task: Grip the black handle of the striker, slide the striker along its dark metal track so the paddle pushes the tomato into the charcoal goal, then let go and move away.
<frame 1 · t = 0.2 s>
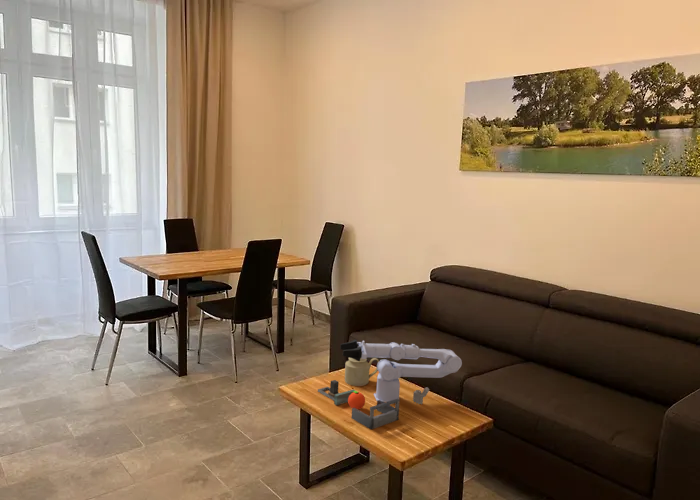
hand: (341, 349, 224), 21 cm above the table, tool horizontal, fingers open, 7 cm apart
beige teapot: (359, 381, 248), on the table
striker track: (332, 395, 230), on the table
goal: (373, 418, 210), on the table
tomato: (355, 408, 219), on the table
lighter: (420, 404, 226), on the table
striker: (338, 391, 226), point 3 cm above the table, slide at 0.0 cm
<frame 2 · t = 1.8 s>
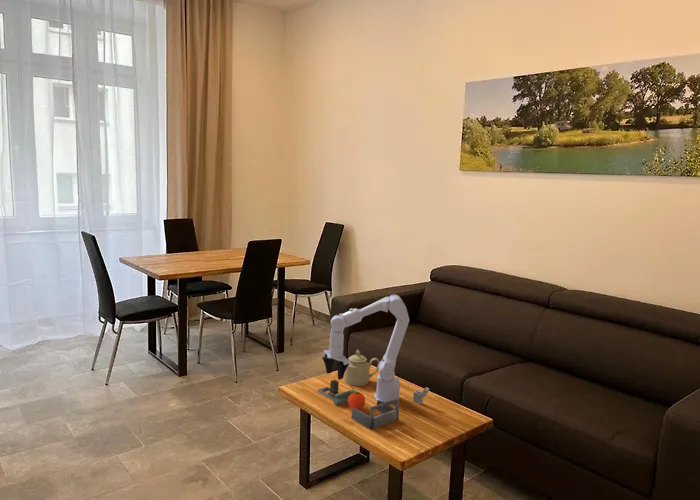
hand: (334, 375, 228), 9 cm above the table, tool pointing down, fingers open, 7 cm apart
nothing on the table moved.
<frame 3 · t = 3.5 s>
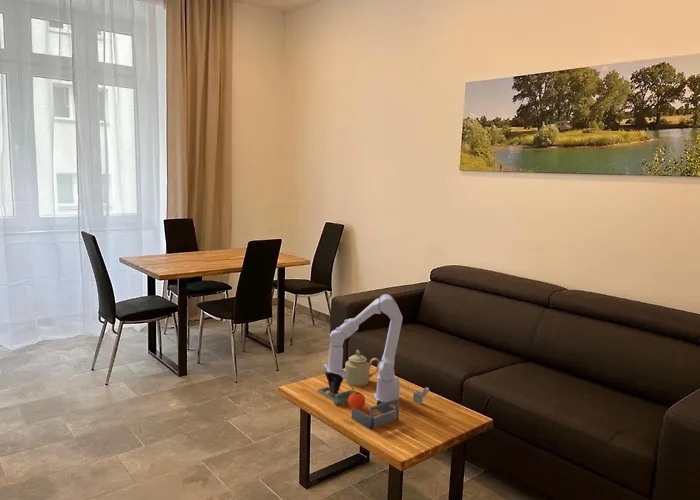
hand: (334, 389, 229), 3 cm above the table, tool pointing down, fingers closed on striker, 2 cm apart
striker: (338, 391, 226), point 3 cm above the table, slide at 0.0 cm, touching gripper
everything else where it was.
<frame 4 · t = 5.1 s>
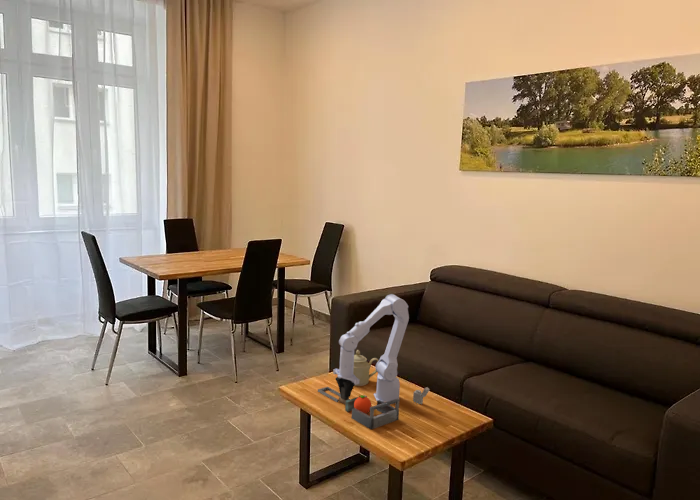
hand: (345, 395, 223), 3 cm above the table, tool pointing down, fingers open, 3 cm apart
tomato: (361, 413, 215), on the table, touching striker
striker: (349, 396, 221), point 3 cm above the table, slide at 7.1 cm, touching tomato, gripper
everything else where it was.
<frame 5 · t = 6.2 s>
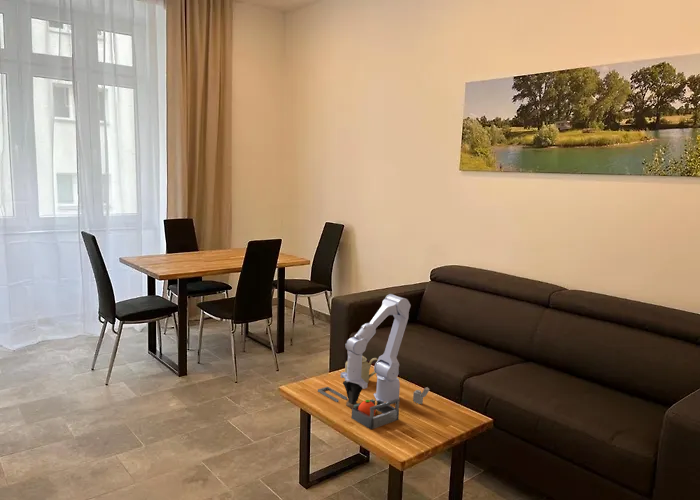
hand: (352, 399, 220), 3 cm above the table, tool pointing down, fingers open, 3 cm apart
tomato: (366, 418, 211), on the table, touching striker
striker: (357, 400, 217), point 3 cm above the table, slide at 11.9 cm, touching tomato, gripper
everything else where it was.
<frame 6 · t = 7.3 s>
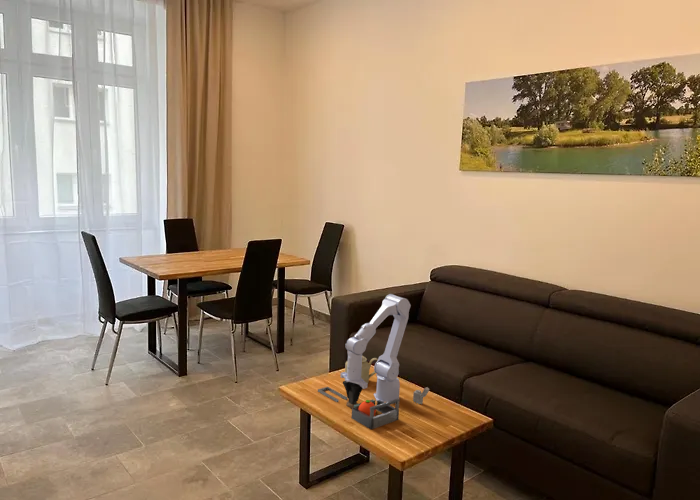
hand: (352, 399, 220), 3 cm above the table, tool pointing down, fingers open, 3 cm apart
tomato: (366, 418, 210), on the table
striker: (357, 401, 217), point 3 cm above the table, slide at 12.0 cm
everything else where it was.
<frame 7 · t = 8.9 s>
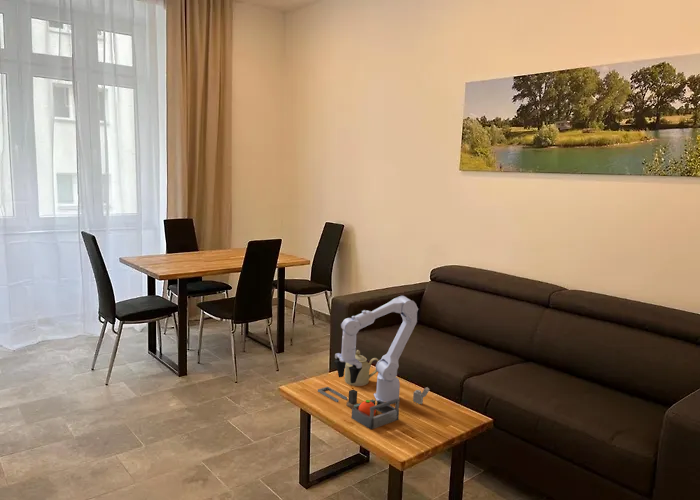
hand: (347, 379, 223), 9 cm above the table, tool pointing down, fingers open, 7 cm apart
nothing on the table moved.
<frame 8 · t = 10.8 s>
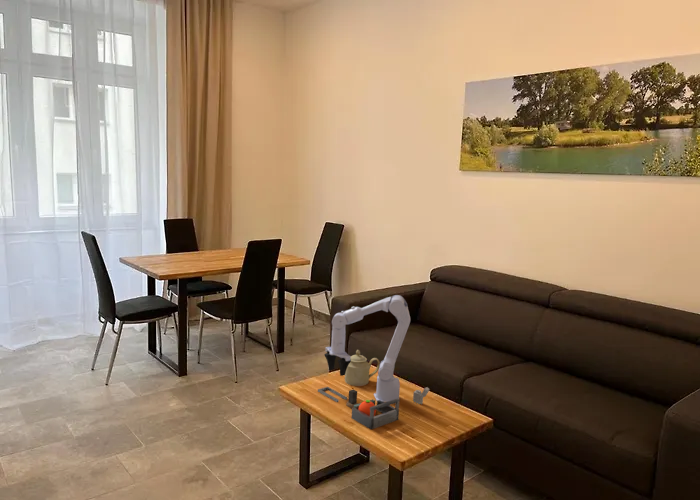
hand: (336, 372, 231), 9 cm above the table, tool pointing down, fingers open, 7 cm apart
nothing on the table moved.
at the end: tomato 2.8 cm from the goal (horizontally); tomato moved 9.3 cm from its start; striker slide at 12.0 cm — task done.
